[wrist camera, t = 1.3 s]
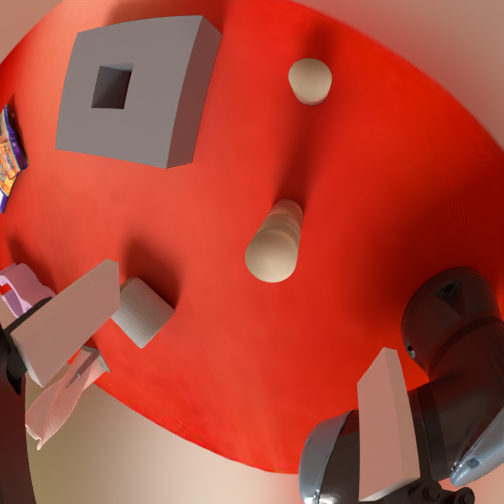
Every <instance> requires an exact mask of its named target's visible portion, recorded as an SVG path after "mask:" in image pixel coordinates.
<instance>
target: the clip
mask: <svg viewBox="0 0 504 504" xmlns="http://www.w3.org/2000/svg"><path fill="white" fill-rule="evenodd" d="M6 283H8V284H9V285H10V286H11V287H12V289H11V290H10V291H9V292H7V293H6V294H4V295H3V296H2V299H3V301H5V302H6V303H7V305H8V307H9V308H10V310H11V311H12V313H13V314H14V315H15V316H16V318H19V317H20V316H21V315H22V314H23V313H25V312H27V310H28V309H30V308H31V307H33V306H34V305H35V304H36V303H37V302H39V301H40V300H42V299H44V298H47V297H50V296H51V297H52V298H54V297H55V296H56V294H55V293H54V292H53V291H52V290H51V289H50V288H49V287H47V286H44V285H42V284H41V283H40V282H39V280H38V279H37V277H36V275H35V274H34V272H33V271H32V270H31V269H30V268H29V267H28V266H27V265H26V264H24V263H20V264H19V265H16V263H14V264H12V265H10V266H9V267H7V268H5V269H4V270H2V271H1V272H0V285H1V286H3V285H4V284H6Z"/></svg>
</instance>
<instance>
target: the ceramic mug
mask: <svg viewBox="0 0 504 504" xmlns="http://www.w3.org/2000/svg"><path fill="white" fill-rule="evenodd" d="M120 302H121V307H120V308H119V309H118V310H117V311H116V312H115V313H114V314H113V315H112V316H111V318H112V319H113V320H114V321H115V322H116V323H117V324H118V325H119V326H120V327H121V329H122V330H123V331H124V332H125V333H126V334H127V335H128V336H129V337H130V338H131V339H132V340H133V341H134V342H135V344H136V345H137V346H139V347H140V348H143V347H144V346H145V345H146V344H147V343H148V342H149V341H150V340H151V339H152V338H153V337H154V336H155V335H156V334H157V332H158V331H159V330H160V329H161V328H162V327H163V326H164V324H165V323H166V322H167V321H168V320H169V319H170V318H171V317H172V315H174V313H175V310H174V309H173V308H172V307H171V306H169V305H168V304H167V303H166V302H165V301H164V300H163V299H162V298H161V297H160V296H159V295H157V294H156V293H155V292H154V291H153V290H152V289H151V288H150V287H149V286H148V285H147V284H146V283H145V282H144V281H142V280H141V279H139V278H138V277H131V278H129V279H128V280H126V281H125V282H124V283H123V284H122V285H121V286H120Z"/></svg>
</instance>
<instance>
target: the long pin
mask: <svg viewBox="0 0 504 504" xmlns="http://www.w3.org/2000/svg"><path fill="white" fill-rule="evenodd" d="M302 222H303V210H302V208H301V206H300V205H299V204H298V203H297V202H296V201H294V200H291V199H282V200H279V201H278V202H276V203H275V204H274V206H273V207H272V209H271V210H270V212H269V213H268V215H267V217H266V218H265V220H264V222H263V223H262V225H261V226H260V228H259V230H258V231H257V233H256V234H255V236H254V238H253V239H252V241H251V242H250V244H249V246H248V247H247V250H246V254H245V261H246V265H247V267H248V269H249V270H250V272H251V273H252V274H253V275H254V276H255V277H257V278H258V279H260V280H263V281H266V282H279V281H282V280H284V279H286V278H287V277H289V276H290V275H291V274H292V272H293V271H294V269H295V266H296V260H297V254H298V248H299V242H300V235H301V229H302Z"/></svg>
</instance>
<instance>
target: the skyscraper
mask: <svg viewBox="0 0 504 504" xmlns="http://www.w3.org/2000/svg"><path fill="white" fill-rule="evenodd" d="M81 349H82V350H81V352H80V353H79V354H78V356H77V357H76V359H75V360H74V362H73V363H72V365H71V366H70V368H69V370H68V372H67V373H66V375H65V376H64V378H63V379H61V380H59V381H57V382H56V383H54V384H53V385H51V386H50V387H49V388H47V389H46V390H45V391H44V392H43V393H42V394H41V395H40V396H39V397H38V398H37V399H36V400H35V401H34V403H33V404H32V406H31V407H30V409H29V410H28V411H27V413H26V414H25V427H27V428H28V429H27V430H26V431H27V432H28V433H29V434H30V435H31V436H32V437H34V438H35V439H36V440H37V439H38V438H39V439H40V442H39V444H38V446H37V449H38V450H39V449H41V447H42V446H43V444H44V443H45V442H46V441H47V440H48V439H49V438H50V437H51V436H52V435H53V434H54V433H55V432H56V431H57V430H58V429H59V428H60V427H61V426H62V425H63V424H64V422H65V421H66V419H67V418H68V417H69V416H70V414H71V413H72V411H73V409H74V407H75V406H76V404H77V402H78V400H79V398H80V396H81V393H82V391H83V390H84V389H85V388H87V387H88V386H89V385H90V384H91V383H92V382H93V381H95V380H96V379H97V378H98V377H99V376H100V375H101V374H102V373H103V372H105V371H108V372H111V371H110V369H109V367H108V366H107V364H106V362H105V360H104V359H103V357H102V355H101V353H100V351H99V349H96V348H92V347H88V346H85V345H82V346H81Z"/></svg>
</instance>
